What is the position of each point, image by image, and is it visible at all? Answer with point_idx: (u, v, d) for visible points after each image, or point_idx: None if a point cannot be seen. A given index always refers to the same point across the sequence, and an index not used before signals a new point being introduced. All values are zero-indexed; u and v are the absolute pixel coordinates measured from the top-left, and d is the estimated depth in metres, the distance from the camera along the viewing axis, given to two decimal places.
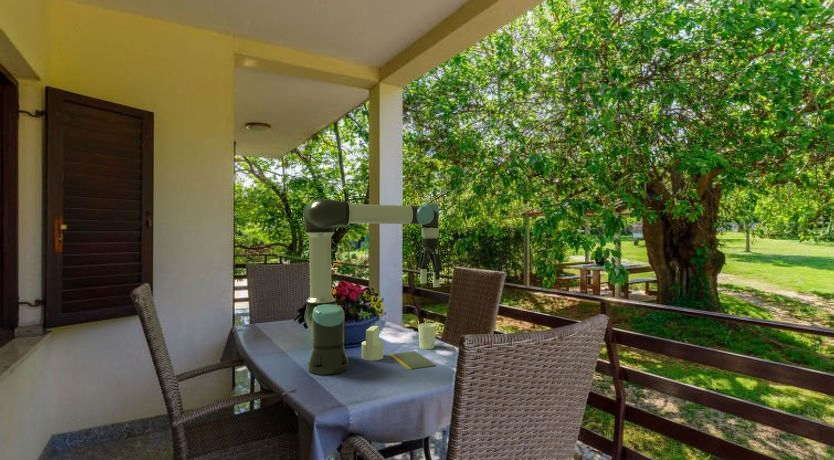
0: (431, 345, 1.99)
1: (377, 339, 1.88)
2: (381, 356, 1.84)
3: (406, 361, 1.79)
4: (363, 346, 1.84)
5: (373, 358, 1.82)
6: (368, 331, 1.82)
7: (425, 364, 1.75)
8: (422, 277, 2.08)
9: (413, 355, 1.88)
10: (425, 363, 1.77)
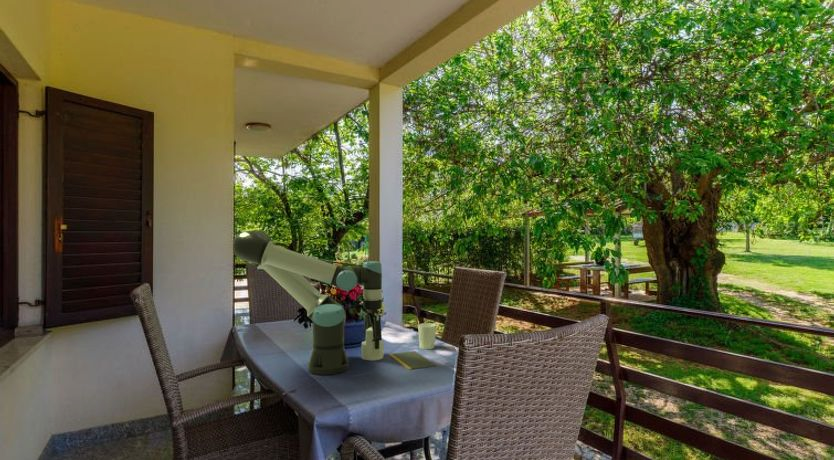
0: (431, 345, 1.99)
1: None
2: (381, 356, 1.84)
3: (406, 361, 1.79)
4: (363, 346, 1.84)
5: (373, 358, 1.82)
6: (368, 331, 1.82)
7: (425, 364, 1.75)
8: None
9: (413, 355, 1.88)
10: (425, 363, 1.77)
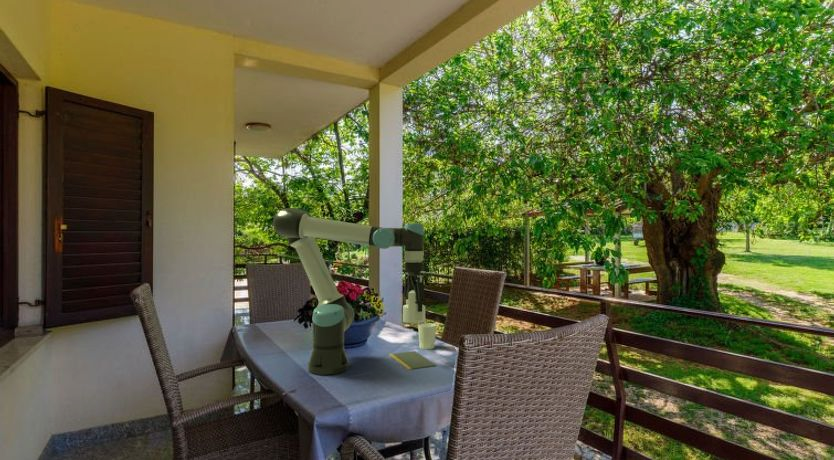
0: (431, 345, 1.99)
1: None
2: (423, 319, 1.80)
3: (406, 361, 1.79)
4: (405, 309, 1.79)
5: (416, 321, 1.77)
6: (411, 293, 1.78)
7: (425, 364, 1.75)
8: None
9: (413, 355, 1.88)
10: (425, 363, 1.77)
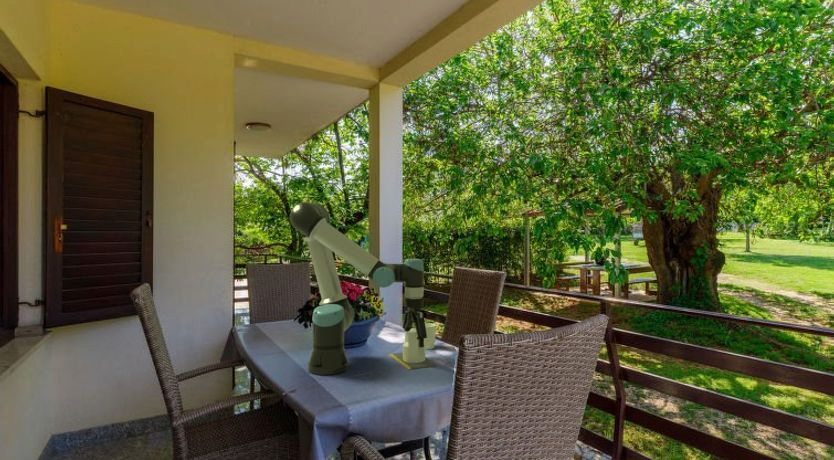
0: (431, 345, 1.99)
1: None
2: (423, 358, 1.80)
3: None
4: (405, 348, 1.79)
5: (416, 360, 1.78)
6: (410, 333, 1.78)
7: (425, 364, 1.75)
8: (407, 340, 1.87)
9: None
10: (425, 363, 1.77)
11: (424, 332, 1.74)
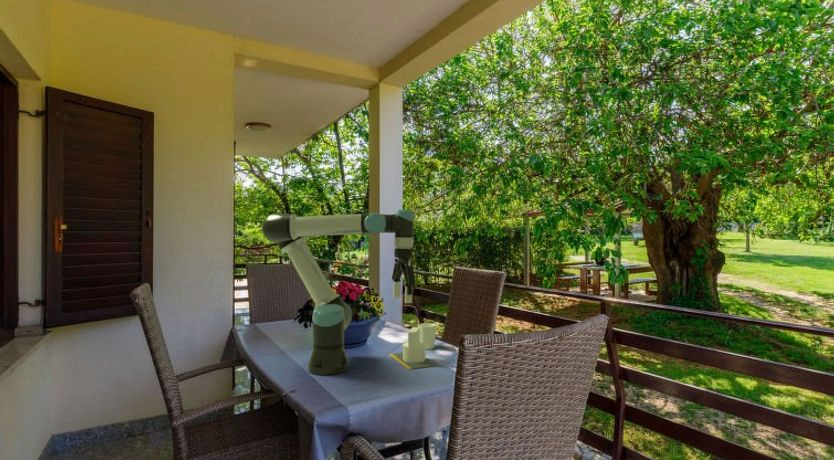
0: (431, 345, 1.99)
1: (418, 341, 1.84)
2: (423, 358, 1.80)
3: None
4: (405, 348, 1.79)
5: (416, 360, 1.78)
6: (410, 333, 1.78)
7: (425, 364, 1.75)
8: (395, 291, 1.89)
9: None
10: (425, 363, 1.77)
11: (412, 279, 1.75)
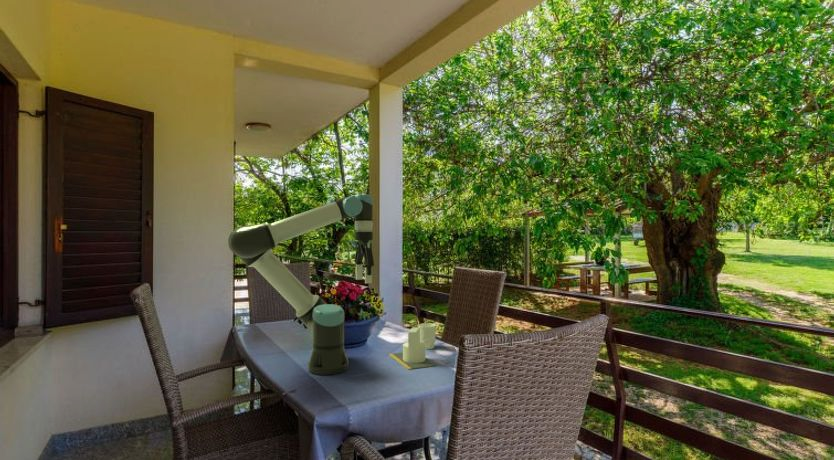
0: (431, 345, 1.99)
1: (418, 341, 1.84)
2: (423, 358, 1.80)
3: None
4: (405, 348, 1.79)
5: (416, 360, 1.78)
6: (410, 333, 1.78)
7: (425, 364, 1.75)
8: (358, 273, 1.97)
9: None
10: (425, 363, 1.77)
11: (371, 260, 1.82)
